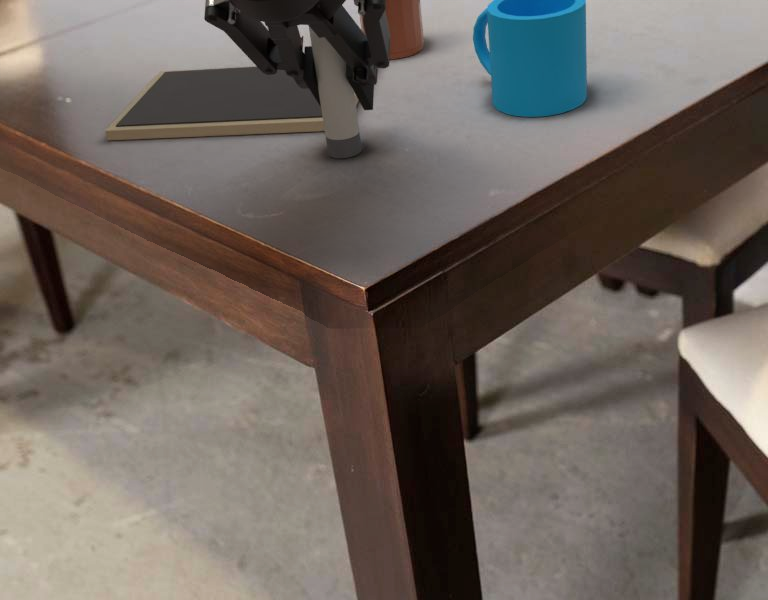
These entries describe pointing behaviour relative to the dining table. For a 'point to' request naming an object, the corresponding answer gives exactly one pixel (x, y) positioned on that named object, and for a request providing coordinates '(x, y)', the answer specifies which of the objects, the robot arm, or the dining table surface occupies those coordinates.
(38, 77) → the dining table surface
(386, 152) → the dining table surface
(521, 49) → the mug
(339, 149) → the stylus
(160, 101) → the small chalkboard
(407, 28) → the pen cup
